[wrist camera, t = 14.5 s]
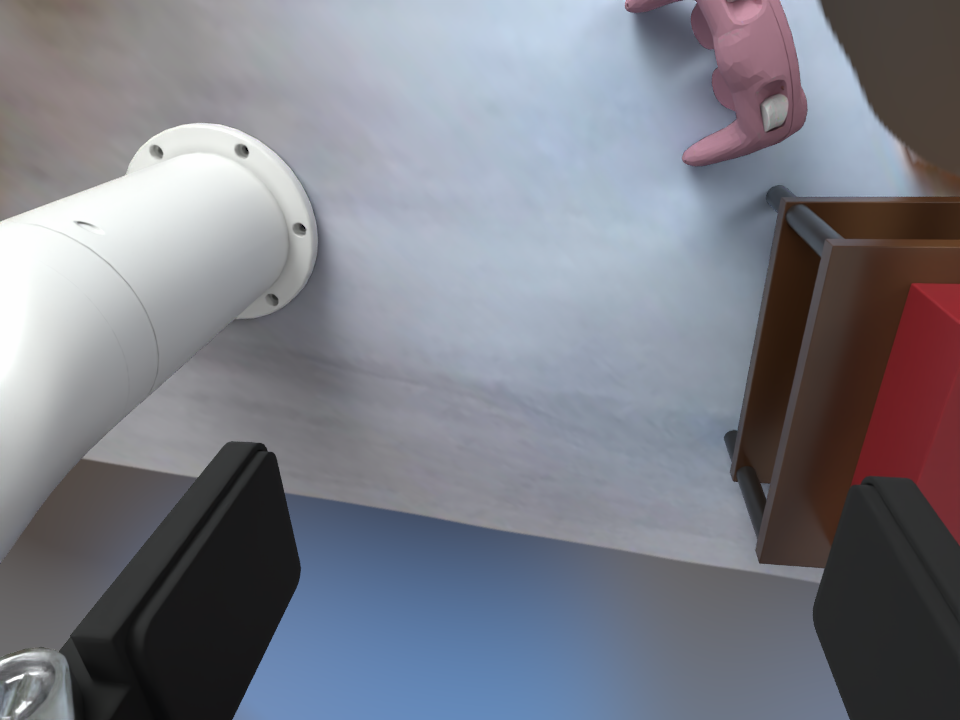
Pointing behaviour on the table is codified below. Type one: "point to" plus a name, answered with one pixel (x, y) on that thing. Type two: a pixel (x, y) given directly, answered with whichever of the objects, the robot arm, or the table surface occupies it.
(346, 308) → the table surface
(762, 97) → the video game controller
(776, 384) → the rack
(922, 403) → the red rectangular block
